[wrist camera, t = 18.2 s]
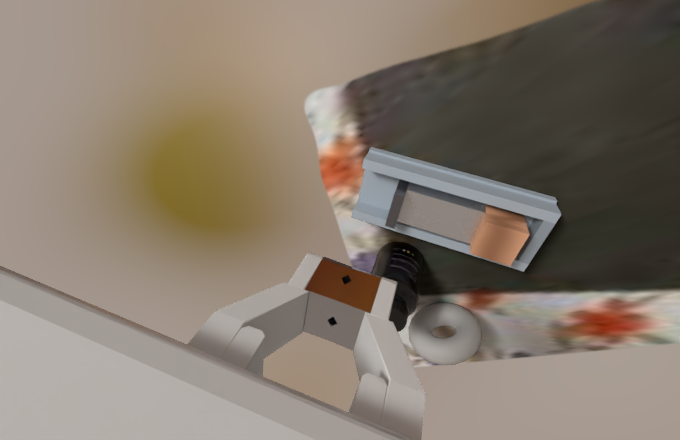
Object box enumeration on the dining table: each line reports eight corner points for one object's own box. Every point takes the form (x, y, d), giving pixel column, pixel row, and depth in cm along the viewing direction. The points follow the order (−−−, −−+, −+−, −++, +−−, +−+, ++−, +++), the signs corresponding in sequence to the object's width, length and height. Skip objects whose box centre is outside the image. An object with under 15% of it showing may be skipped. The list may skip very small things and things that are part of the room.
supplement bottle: (411, 283, 50) (399, 347, 40) (371, 264, 51) (349, 323, 41) (432, 252, 46) (424, 315, 36) (388, 232, 47) (369, 288, 37)
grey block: (484, 200, 39) (486, 221, 35) (469, 230, 41) (470, 252, 37) (400, 176, 40) (394, 193, 37) (391, 207, 43) (384, 225, 39)
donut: (414, 313, 53) (406, 367, 45) (410, 297, 52) (401, 349, 44) (481, 315, 49) (485, 374, 41) (479, 298, 48) (482, 355, 40)
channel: (555, 197, 37) (563, 212, 34) (518, 256, 42) (522, 273, 39) (371, 146, 41) (364, 156, 38) (357, 206, 46) (350, 219, 43)
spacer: (522, 211, 38) (529, 234, 34) (505, 241, 41) (510, 266, 37) (483, 200, 39) (486, 221, 35) (469, 230, 41) (469, 253, 37)
